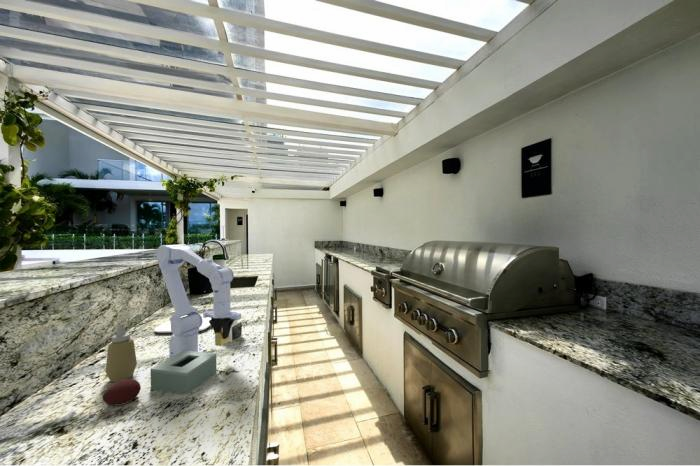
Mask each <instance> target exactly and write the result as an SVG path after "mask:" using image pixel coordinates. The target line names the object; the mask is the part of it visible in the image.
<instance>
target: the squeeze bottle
mask: <svg viewBox="0 0 700 466" xmlns="http://www.w3.org/2000/svg"><path fill="white" fill-rule="evenodd" d="M137 364H138V362H137V355H136V349H135V340H134V339H133V338H131V333H130V332H127V331H126V328H125V326H124V323H119V324H118V326H117V330H116V333H115V334H114V335H112V337H111V342H110V343H109V344H108V347H107V355H106V364H105V374H106V376H107V378H108V379H109V381H110V382H111V383H116V382H118V381H121V380H124V379H131V377H132V376H134V373H135V371H136V370H135V369H136V367H137Z"/></svg>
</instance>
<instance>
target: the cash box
mask: <svg viewBox="0 0 700 466" xmlns="http://www.w3.org/2000/svg"><path fill="white" fill-rule="evenodd" d="M217 369H218V367H217V353H213V352H204V351H203V352H195V351H186V350H184V351H182V352H180V353H178V354H177V355H175V356H173V357H171V358H169V359H168V358H167V359H166V360H163V361H162V362H160V363H158V364H157V365H154V366H153V367H151V368H150V390H152V391H153V390H155V391H159V392H166V393H168V392H169V393H175V394H180V395H181V394H182V395H188V394H189V393H190V392H192V391H193V390H195V389H196V388H198V387H199V386H200V385H202V383H204V382H205V381H206V380H208V379H209V378H211V377H212V376H213V375H214V374H216V373H218V371H217Z"/></svg>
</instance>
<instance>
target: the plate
mask: <svg viewBox="0 0 700 466" xmlns="http://www.w3.org/2000/svg"><path fill="white" fill-rule="evenodd" d="M200 315H201V317H202V320H203V323H202V325H201V327H199V331H198V333H200V332H202V331H204V330H206V329H207V328H209V327H211V325H210V323H209V320H211V318H210V317H206V318H203V314H200ZM185 316H188V315H185ZM185 316H182V317H185ZM182 317H181V318H182ZM153 330H154V331H155V333H159V334H173V333H172V331H171V322H170V320H169V321H166V322H164V323H162V324H160V325H158V326H156V327H154V329H153Z"/></svg>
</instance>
